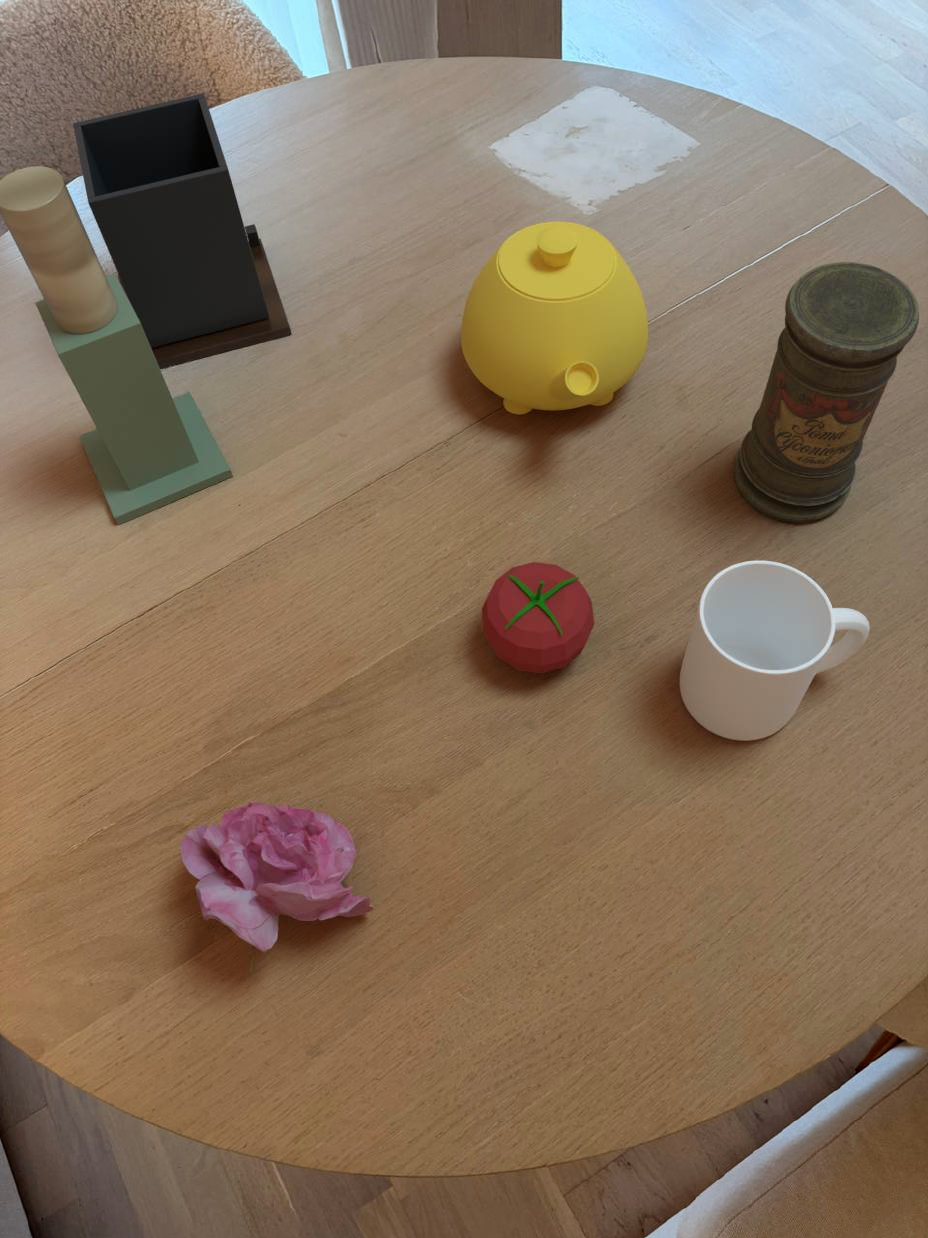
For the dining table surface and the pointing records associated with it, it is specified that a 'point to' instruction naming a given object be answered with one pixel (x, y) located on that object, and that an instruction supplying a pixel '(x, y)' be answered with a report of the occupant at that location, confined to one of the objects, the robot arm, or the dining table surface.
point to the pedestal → (135, 416)
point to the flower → (271, 869)
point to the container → (824, 389)
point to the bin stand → (238, 334)
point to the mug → (761, 648)
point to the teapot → (554, 320)
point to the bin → (170, 218)
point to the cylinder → (57, 249)
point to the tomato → (537, 617)
